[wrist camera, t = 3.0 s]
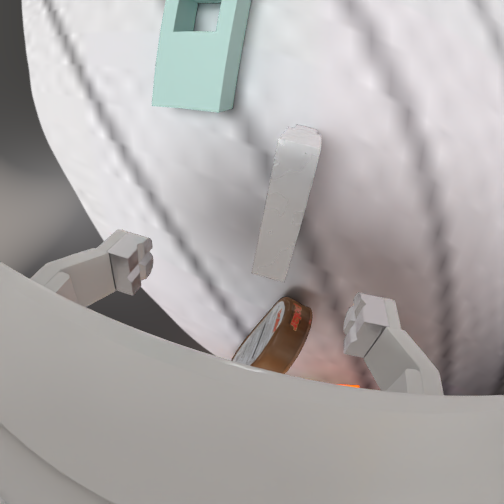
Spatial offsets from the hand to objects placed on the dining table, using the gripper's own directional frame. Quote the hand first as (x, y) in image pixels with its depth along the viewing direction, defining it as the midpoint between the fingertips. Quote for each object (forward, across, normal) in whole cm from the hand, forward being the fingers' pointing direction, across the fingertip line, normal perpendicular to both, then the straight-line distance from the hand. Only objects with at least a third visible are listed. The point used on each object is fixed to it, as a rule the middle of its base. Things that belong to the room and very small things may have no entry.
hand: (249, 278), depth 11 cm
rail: (+12, +7, -14) cm, 20 cm away
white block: (+12, -1, 0) cm, 12 cm away
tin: (+13, -2, +17) cm, 21 cm away
